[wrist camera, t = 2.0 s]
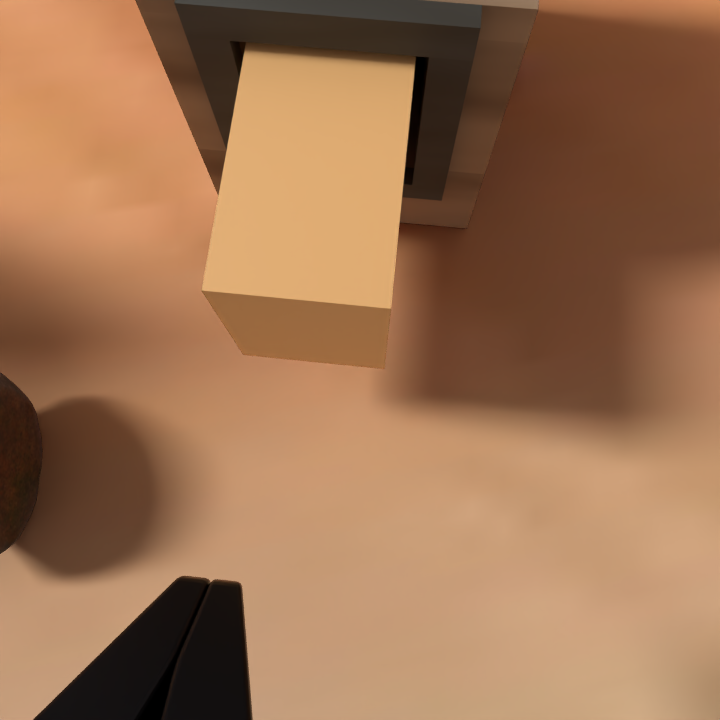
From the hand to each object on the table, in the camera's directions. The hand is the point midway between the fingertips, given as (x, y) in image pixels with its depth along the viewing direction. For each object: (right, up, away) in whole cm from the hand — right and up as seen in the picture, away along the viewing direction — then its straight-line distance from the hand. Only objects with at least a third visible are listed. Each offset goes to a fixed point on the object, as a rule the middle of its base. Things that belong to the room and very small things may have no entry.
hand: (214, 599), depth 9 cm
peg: (+1, +8, +11) cm, 13 cm away
